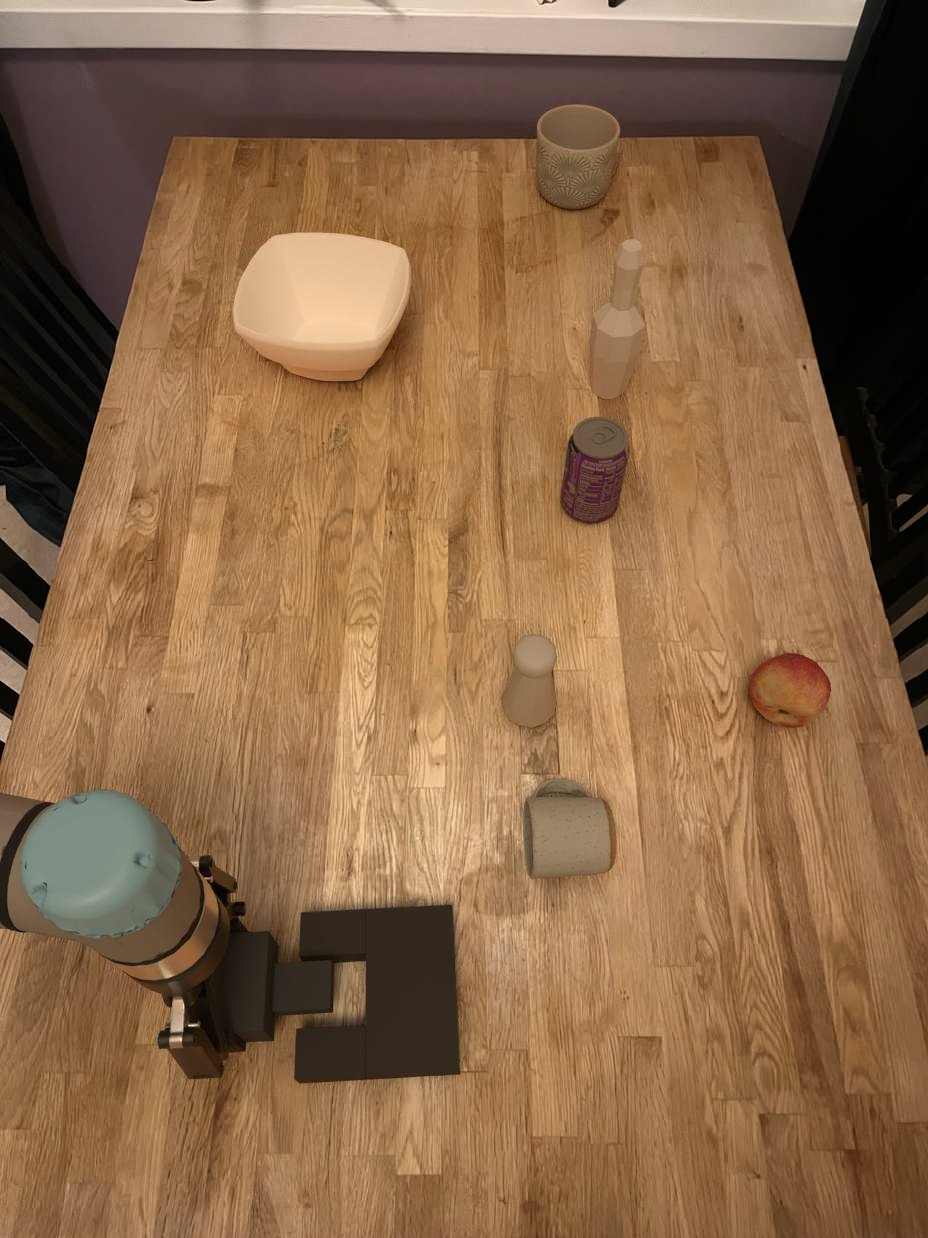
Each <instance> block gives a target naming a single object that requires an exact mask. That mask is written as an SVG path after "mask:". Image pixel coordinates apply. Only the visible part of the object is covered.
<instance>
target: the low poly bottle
mask: <svg viewBox="0 0 928 1238" xmlns="http://www.w3.org/2000/svg"><path fill="white" fill-rule="evenodd" d="M644 267H645V257H644V248H643V246H642V243H641V242H640V241H639V240H637V239H635V238H632V239H625V240H623V242H621V244H620V245H619V247H618V249H617V251H616V253H615V255H614V257H613V273H612V274H613V276H612V277H613V278H612V285H611V291H610V297H609V301H608V302H607V303H606V304H604V305H603V306H602V307H600V308H599V309H598V310H597V311H595V312H594V313H593V314H592V319H591V325H590V333H589V341H588V344H589V385H590V388H591V392H592V393H593V395H596V396H597V397H599V398H601V399H602V400H613V399H618V398H619V397H620V396H621V395H623V394H624V393H625V392H626V390H627V387H628V385H629V383H630V381H631V377H632V375H633V373H634V372H633V371H634V370H635V367H636V365H637V362H638V359H639V356H640V353H641V349H642V346H643V341H644V340H643V339H644V335H645V330H646V323H645V320H644V317H643V314H642V312H641V310H640V309H639V308H638V306H637V305H636V298H637V293H638V288H639V283H640V280H641V277H642V273H643V270H644Z"/></svg>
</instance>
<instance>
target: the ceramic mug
mask: <svg viewBox="0 0 928 1238" xmlns="http://www.w3.org/2000/svg"><path fill="white" fill-rule="evenodd" d="M536 787H537V788H536V789H535V790H534V792H533V794H532V796H528V797H526V798H525V799H524V801H523V811H522V838H523V853H524V862H525V867H526V872H527V876H528V877H529V878H530V879H532V880H539V879H552V878H554V879H555V878H568V877H569V878H570V877H580V876H581V877H582V876H596V875H600V874H605V873H608V872H609V871H611V869H612V868H613V867H614V865H615V864H616V859H617V830H616V824H615V823H616V822H615V817H614V813H613V810H612V808H611V806H610V804H609V803H608V802H607V801H606V800H605V799H602V798H599V797H598V798H597V797H592V796H591V793H590V792H589V791H588V789H586V787H585V786H583V785H581V784H580V783H578V782H576V781H574V780H571V779H564V778H553V779H548V780H544V781H543V782H541V784H539V785H538V786H536ZM549 793H561V794H563V793H564V794H570V795H571V794H572V795H575V796H576V797H575V796H574V797H573V796H572V797H563V796H561V797H559V796H556V797H555V796H543V795H545V794H549Z"/></svg>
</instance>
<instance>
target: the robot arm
mask: <svg viewBox="0 0 928 1238" xmlns="http://www.w3.org/2000/svg"><path fill="white" fill-rule="evenodd" d="M238 884H239V883H238V881H237V879H236V877H234V876H232V875H231V874H229V873H228V872H226V871H225V870H223V869H221V868H220V867H218V866H217V865H216V863H215V860H214V858H213V855H211V854H208V855H207V854H205V855H187V854H186V853H185V852H184V850H183V849H182V848H181V846H180V845H179V843H178V842H177V840H176V837H175V835H174V833H173V831H172V830H171V829H170V828H169V827H168V824H167V823H166V822H164V821H163V820H162V819H161V818H160V817H159V816H158V815H155V814H153V813H152V811H151V810H150V809H149V807H148V808H147V806H145V805H144V803H142V802H141V801H140V800H138V799H137V798H136V797H133V796H131V795H130V794H127V793H125V792H122V791H118V790H114V789H105V788H95V789H92V790H88V791H84V792H80V793H77V794H74V795H70V796H66V797H65V798H63V799H61V800H59V801H56V802H52V801H45V800H39V799H36V798H30V797H25V796H20V795H15V794H9V793H5V792H0V930H9V931H11V932H17V933H21V934H26V933H30V934H33V935H34V934H35V935H39V936H45V937H50V938H56V939H61V940H67V941H72V942H76V943H79V944H83V945H85V946H87V947H88V948H90V949H92V950H93V951H95V952H96V953H97V954H98V955H99V956H101V957H102V958H105V959H106V960H107V961H109V962H110V963H112V964H113V965H114V966H115V967H117V968H118V969H120V970H121V971H122V972H123V973H124V974H126V976H128V977H129V978H131V979H132V980H133V981H134V982H136V983H138V984H139V985H140V986H142V987H143V988H146V989H147V990H150V991H152V992H154V993H157V994H160V995H161V997H162V1001H163V1003H164V1005H165V1006H166V1007H167V1008H169V1009H170V1011H171V1012H170V1021H167V1022H165V1024H164V1029H161V1030H160V1031H159V1033H158V1035H157V1046H158V1049H159V1050H167V1051H168V1052H169V1054H170V1055H171V1057H172V1058H173V1059H174V1060H175V1062H176V1063H177V1065H178V1067H179V1068H180V1069H181V1071H182V1072H183V1073H184V1075H185V1076H186V1078H187V1079H188V1080H203V1079H204V1080H206V1079H207V1080H208V1079H222V1077H223V1075H224V1072H225V1065H224V1062H223V1061H228V1060H229V1059H230V1053H245V1052H246V1050H247V1043H246V1042H245V1041H244V1040H243V1039H242V1038H240V1037H239V1036H238V1035H237V1034H235V1032H234V1031H232V1030H231V1029H224V1028H223V1024H222V1021H221V1017H220V1014H219V1010H218V1007H217V1003H216V995H217V990H218V982H217V979H216V975H215V969H216V968H217V966H218V965H219V964H220V962H221V961H222V959H223V957H224V955H225V953H226V950H227V947H228V943H229V938H230V933H239V932H249V930H248V929H247V928H246V926H245V925H244V923H243V922H242V920H241V919H240V918H239V917H245V916H246V910H247V907H246V906H247V905H246V901H244V900H241V901H232V894H236V893H237V889H238Z"/></svg>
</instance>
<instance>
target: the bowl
mask: <svg viewBox="0 0 928 1238" xmlns="http://www.w3.org/2000/svg"><path fill="white" fill-rule="evenodd" d="M412 271H413V270H412V265H411V262H410V259H409V257H408V253H407V251H406V249H404V248H403V247H400V246H398V245H395V244H392V243H390V242H387V241H384V240H379V239H375V238H370V237H366V236H359V235H353V234H347V233H338V232H337V233H333V232H290V233H282V234H276V235H273V236H271V237H270V238H269V239H268V240H267V241H265V242H264V243H263V244H262V245H261V246H260V247H259V248H258V249H257V251H256V252H255V253H254V255H253V256H252V258H251V259H250V260H249V263H248V264H247V266H246V268H245V270H244V272H243V273H242V275H241V277H240V279H239V282H238V285H237V288H236V292H235V294H234V298H233V303H232V304H233V305H232V311H231V316H232V322H233V330H234V331H235V333H237V334H238V335H239V336H240V337H241V338H242V339H243V340H244V341H245V342H246V343H247V344H248V345H250V346H251V347H252V348H253V349H254V350H255V351H256V352H257V353H258V354H260V355H261V356H262V357H263V358H266V359H268V360H270V361H271V362H272V361H273V362H275V363H279V364H280V365H281V366H282V367H283V368H284V369H285V370H286V371H287V372H289V373H290V374H293V375H297V376H300V377H304V378H307V379H311V380H316V381H321V382H352V381H359V380H361V379H362V378H363V377H364V376H365V375H366V373H367V372H368V370H369V369H370V368H371V367H373V366H374V365H375V363H377V361H378V360H379V359H380V358H381V357H382V356H383V354H384V353H385V351H386V349H387V347H388V346H389V344H390V342H391V339H392V338H393V336H394V335H395V332H396V330H397V328H398V325H400V322H401V320H402V318H403V314H404V312H405V310H406V308H407V305H408V303H409V298H410V294H411V288H412Z"/></svg>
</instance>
